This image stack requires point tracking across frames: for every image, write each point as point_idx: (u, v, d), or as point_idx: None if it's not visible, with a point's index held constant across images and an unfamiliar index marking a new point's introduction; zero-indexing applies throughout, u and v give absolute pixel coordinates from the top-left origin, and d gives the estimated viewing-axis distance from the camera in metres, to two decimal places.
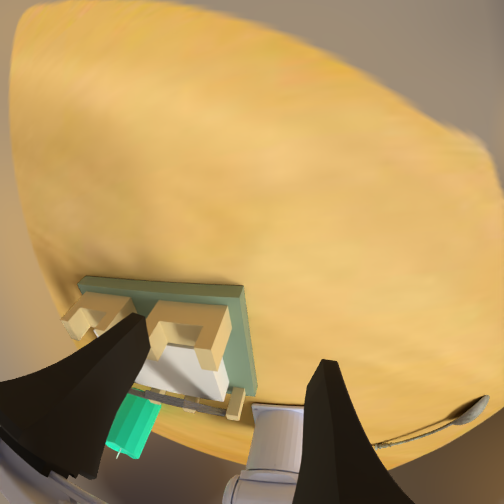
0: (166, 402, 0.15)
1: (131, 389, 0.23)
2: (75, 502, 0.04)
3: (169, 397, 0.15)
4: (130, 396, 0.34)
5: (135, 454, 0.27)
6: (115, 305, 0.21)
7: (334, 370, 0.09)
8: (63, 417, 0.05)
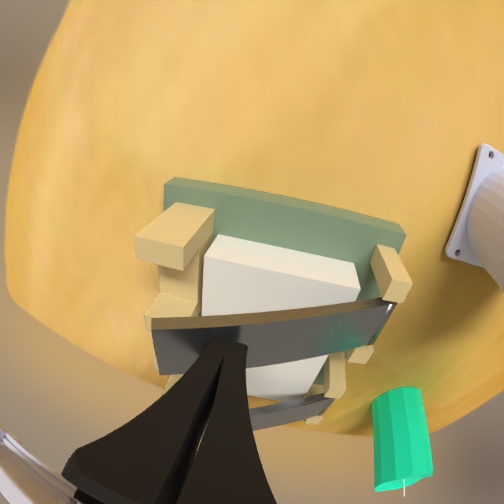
0: (154, 348, 0.10)
1: (282, 404, 0.16)
2: (75, 502, 0.04)
3: None
4: (373, 414, 0.23)
5: (418, 472, 0.13)
6: None
7: (238, 352, 0.09)
8: (175, 471, 0.05)
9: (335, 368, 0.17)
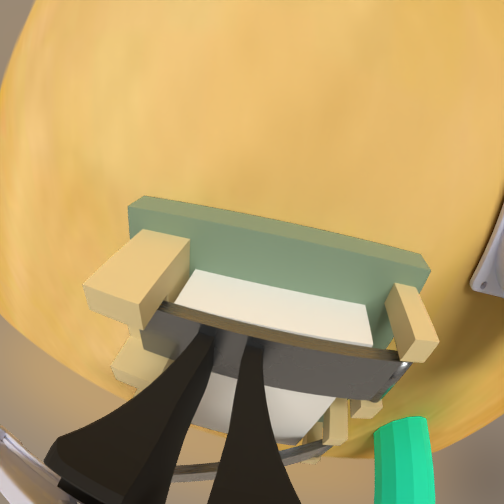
0: None
1: None
2: (75, 502, 0.04)
3: None
4: (375, 444, 0.19)
5: None
6: None
7: (254, 356, 0.09)
8: (153, 463, 0.05)
9: (336, 414, 0.14)
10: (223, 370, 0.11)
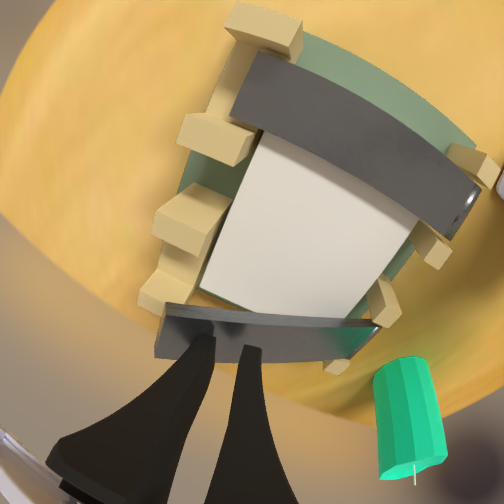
0: (246, 76, 0.09)
1: (326, 319, 0.12)
2: (75, 502, 0.04)
3: None
4: (378, 385, 0.20)
5: (438, 453, 0.11)
6: None
7: (253, 356, 0.09)
8: (155, 464, 0.05)
9: (385, 288, 0.14)
10: (322, 147, 0.10)
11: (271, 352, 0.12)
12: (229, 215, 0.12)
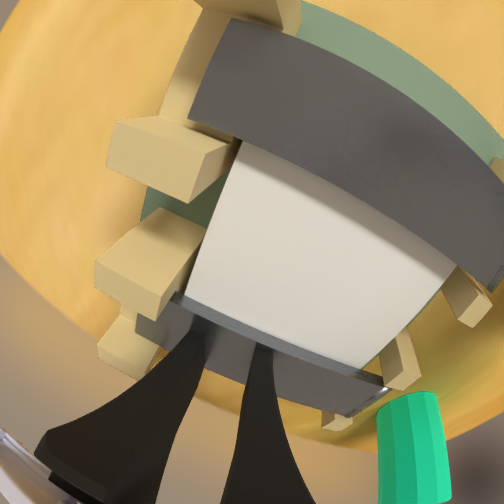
0: (212, 57, 0.05)
1: (318, 357, 0.10)
2: (75, 502, 0.04)
3: None
4: (382, 423, 0.17)
5: (442, 498, 0.08)
6: None
7: (264, 358, 0.09)
8: (140, 458, 0.05)
9: (402, 341, 0.10)
10: (334, 167, 0.06)
11: (248, 372, 0.10)
12: (198, 260, 0.09)
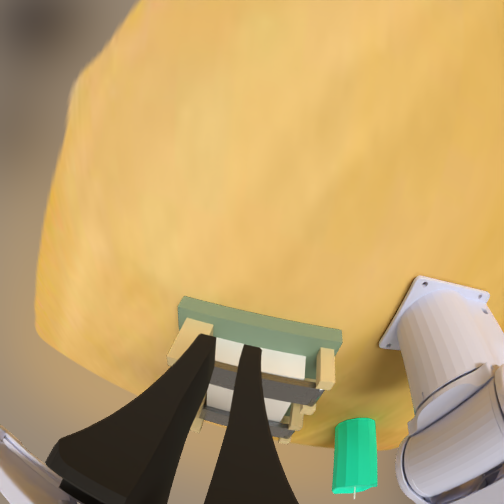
0: None
1: None
2: (75, 502, 0.04)
3: None
4: (335, 436, 0.30)
5: (362, 483, 0.21)
6: None
7: (252, 356, 0.09)
8: (155, 464, 0.05)
9: (296, 411, 0.24)
10: (231, 387, 0.21)
11: None
12: (207, 398, 0.24)
